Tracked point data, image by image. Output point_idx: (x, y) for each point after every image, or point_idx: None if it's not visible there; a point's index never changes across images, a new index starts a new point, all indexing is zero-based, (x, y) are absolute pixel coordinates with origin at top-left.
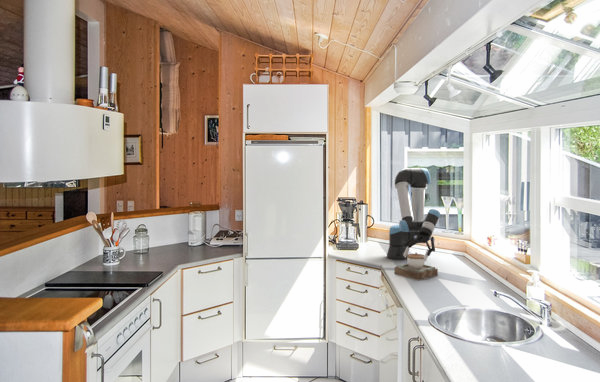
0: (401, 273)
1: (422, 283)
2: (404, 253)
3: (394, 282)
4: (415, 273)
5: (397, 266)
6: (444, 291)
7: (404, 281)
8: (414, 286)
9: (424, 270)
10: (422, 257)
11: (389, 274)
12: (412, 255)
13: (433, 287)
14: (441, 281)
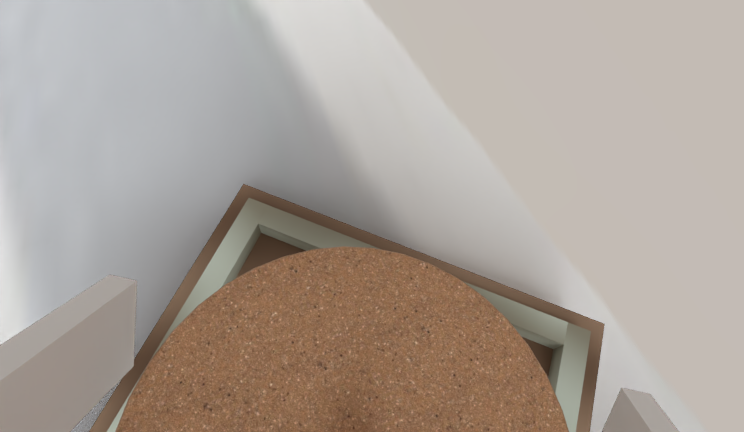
0: None
1: (200, 135)
2: (654, 423)
3: (419, 73)
4: (284, 204)
5: (579, 328)
6: (10, 16)
7: (361, 127)
8: (248, 42)
9: (183, 315)
10: (163, 346)
11: (592, 292)
12: (420, 378)
13: (96, 70)
14: (6, 284)
